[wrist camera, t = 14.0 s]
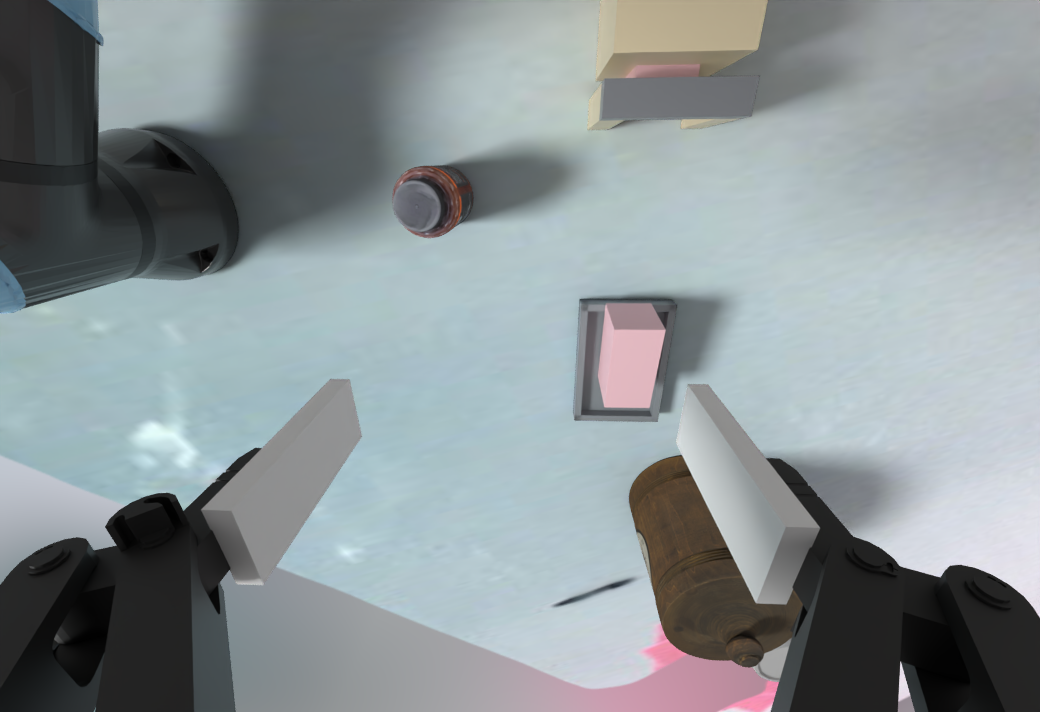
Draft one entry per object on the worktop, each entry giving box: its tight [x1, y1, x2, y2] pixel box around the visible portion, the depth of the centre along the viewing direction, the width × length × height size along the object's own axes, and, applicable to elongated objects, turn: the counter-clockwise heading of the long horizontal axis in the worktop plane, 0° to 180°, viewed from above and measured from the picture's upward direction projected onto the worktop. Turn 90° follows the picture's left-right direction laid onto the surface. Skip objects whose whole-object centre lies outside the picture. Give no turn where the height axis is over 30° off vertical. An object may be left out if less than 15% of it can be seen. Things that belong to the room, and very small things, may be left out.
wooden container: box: [629, 456, 803, 667], centre depth 48 cm, size 15×15×22 cm
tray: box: [573, 299, 677, 422], centre depth 48 cm, size 11×16×2 cm
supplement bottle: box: [393, 166, 473, 238], centre depth 37 cm, size 6×6×11 cm
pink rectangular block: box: [598, 303, 666, 408], centre depth 44 cm, size 5×10×6 cm, turn 1°
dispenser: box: [587, 0, 768, 130], centre depth 32 cm, size 11×12×10 cm
